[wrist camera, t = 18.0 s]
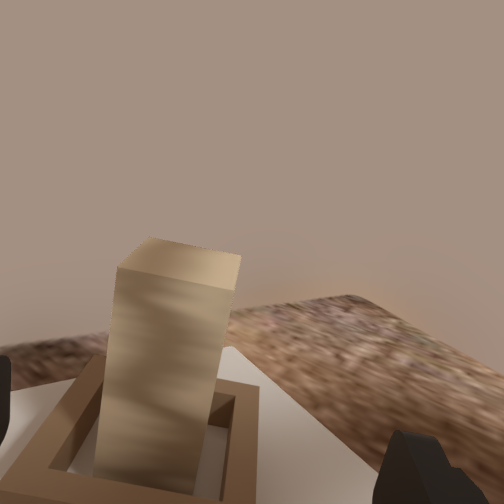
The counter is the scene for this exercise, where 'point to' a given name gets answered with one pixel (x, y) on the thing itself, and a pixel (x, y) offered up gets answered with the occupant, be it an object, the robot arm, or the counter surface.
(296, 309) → the counter surface
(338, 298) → the counter surface
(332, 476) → the socket board
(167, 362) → the maple peg
